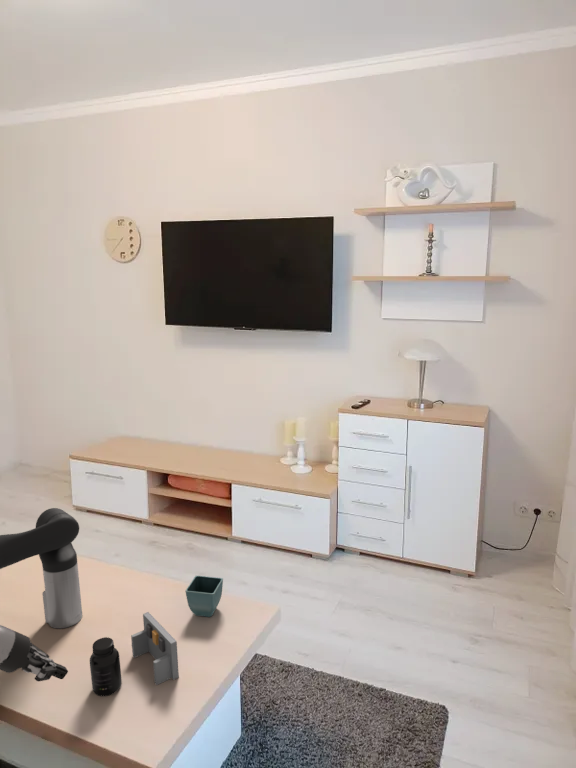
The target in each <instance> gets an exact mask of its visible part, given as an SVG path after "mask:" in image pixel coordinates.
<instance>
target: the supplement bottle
mask: <svg viewBox="0 0 576 768" xmlns="http://www.w3.org/2000/svg"><path fill="white" fill-rule="evenodd" d="M114 644H115V643H114V640H113V639H112V638H111V637H107V636H104V637H100V638H99V639H96V640H95V641H94V642H93V644H92V654H91V655H90V657H89V669H90V678H91V689H92V691H93V694H95V695H96V696H98V697H108V696H109V697H110V696H112V695H113V694H116V692H118V691H119V689H121V687H122V684H123V683H122V682H123V681H122V680H123V679H122V670H121V660H120V652H119V650H118V649H117V648H116V647H115V645H114Z"/></svg>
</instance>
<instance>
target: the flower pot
mask: <svg viewBox="0 0 576 768" xmlns="http://www.w3.org/2000/svg"><path fill="white" fill-rule="evenodd" d="M223 583H224V578H223V577H214V576H206V575H195V576H194V577H193V579H192V580H191V582H190V583H189V585H188V586H187V587H186V589H185V597H186V602H187V606H188V608H189V610H190V611H191V613H192V614H194V616H196V617H197V616H198V617H199V616H200V617H205V618H206V617H207V618H208V617H209V618H211V617H212V616H213V615H214V613H215V611H216V610H217V607H218V605H219V604H220V602H221V597H222V594H223V586H224V585H223Z"/></svg>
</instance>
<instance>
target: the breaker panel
mask: <svg viewBox="0 0 576 768" xmlns="http://www.w3.org/2000/svg"><path fill="white" fill-rule="evenodd" d="M142 617H143V618H142V621H143V629H142V630H141V631H138V632H136V633H133V634H131V636H130V637H131V638H130V639H131V648H132V650H131V651H132V657H133V658H134V659H135V658H138V657H140V656H142V655H144V654H146V653H148V652H149V654H150V655H151V656H152V657H153V658H154V659H155V660H153V661H152V663H153V679H154V684H155V685H156V686H158V685H160V684H162V683H164V682H166V681H168V680H170V679H172V680H173V681H174V680H177V679H179V677H180V675H179V659H178V658H179V657H178V642H177V640H176V639H175V638H174V637H173V636H172V634H171V633H170V632H169V631H167V630H166V628H164V626H163V625H161V623H160V622H159V621H158V620H157V619H156V618H155V617H154V616H153V615H152V614H151V613H150V612H149V611H146V612H144V613H142Z"/></svg>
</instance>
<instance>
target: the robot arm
mask: <svg viewBox="0 0 576 768" xmlns="http://www.w3.org/2000/svg"><path fill="white" fill-rule="evenodd" d="M79 533H80V525H79V522H78V521H77V520H76V518H75V517H74V516H72V515H71V514H69V513H68V512H66V511H65V510H62V509H61V508H56V507H51V508H48V509H45V510H44V511H43V512H41V514H40V515H39V516H38V517H37V520H36V522H35V528H33V529H29V530H26V531H23V532H18V533H9V534H0V570H2V569H4V568H7V567H9V566H12V565H15V564H17V563H19V562H21V561H25V560H26V559H29V558H31V557H35V556H38V557H39V559H40V561H41V565H42V567H41V568H42V572H43V573H42V575H43V583H44V590H43V591H42V594H41V595H42V602H43V603H42V604H43V610H44V612H43V613H44V619H45V623H46V624H48V625H49V626H50V627H51V628H53V629H66V628H70V627H73V626H74V625H76V624H78V623H79V622H80V621H81V619H82V618H83V609H82V597H81V586H80V577H79V575H80V573H79V565H78V556H77V554H78V553H77V552H76V549H75V548H74V546H73V544H72V542H74V540H76V538H77V537H78V535H79ZM19 669H21V671H23V672H24V673H26V674H29V673H32V674H33V675H35V677H34V680H35V681H36V682H44V681H49V680H50V679H51V678H52V677H54V678H57V679H59V680H64V678H65V677H66V675H67V674H68V673H69V671H68V669H67V667H66V666H64V665H62V664H60V663H57V662H55V660H53V659H51V658H50V655H49V654H47V653H46V652H45V651H43V650H42V649H40V648H39V647H38V646H36V645H35V644H34V643H32V641H31V638H30V637H29V636H27V635H25V634H23V633H20V632H18V631H16V630H13V629H11V628H9V627H6V626H4V625H3V624H0V671H2V672H5V673H8V674H10V673H13V672H16V671H17V670H19Z"/></svg>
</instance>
